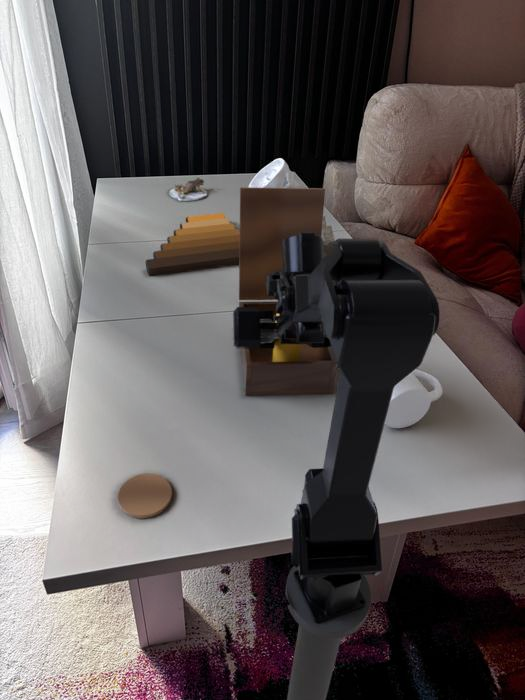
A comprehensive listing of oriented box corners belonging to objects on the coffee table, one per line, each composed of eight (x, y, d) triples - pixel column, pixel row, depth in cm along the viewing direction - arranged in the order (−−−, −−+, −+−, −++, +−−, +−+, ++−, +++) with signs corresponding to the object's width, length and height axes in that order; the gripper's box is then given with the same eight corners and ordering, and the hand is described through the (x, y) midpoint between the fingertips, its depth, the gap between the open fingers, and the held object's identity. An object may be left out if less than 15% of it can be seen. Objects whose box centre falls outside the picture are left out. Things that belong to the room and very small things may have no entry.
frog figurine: (193, 184, 172) (193, 172, 169) (216, 196, 164) (215, 183, 162) (161, 191, 166) (160, 178, 163) (183, 203, 158) (182, 190, 156)
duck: (300, 377, 94) (307, 314, 87) (273, 378, 93) (277, 315, 86) (295, 356, 99) (301, 295, 92) (269, 356, 98) (273, 295, 91)
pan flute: (149, 277, 122) (255, 262, 130) (148, 263, 120) (255, 249, 128) (128, 232, 140) (222, 222, 148) (127, 219, 138) (222, 210, 146)
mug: (379, 432, 85) (388, 392, 80) (353, 392, 93) (360, 353, 88) (447, 420, 88) (460, 381, 83) (416, 382, 96) (426, 344, 91)
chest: (332, 393, 92) (337, 363, 88) (245, 395, 90) (246, 365, 87) (312, 328, 108) (316, 300, 104) (238, 329, 106) (238, 301, 103)
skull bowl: (310, 197, 163) (291, 162, 155) (269, 223, 165) (249, 190, 157) (300, 185, 171) (282, 151, 163) (262, 210, 173) (242, 177, 165)
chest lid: (325, 189, 95) (320, 184, 99) (240, 188, 93) (238, 183, 97) (316, 299, 104) (312, 291, 108) (239, 300, 102) (237, 292, 106)
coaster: (177, 510, 71) (177, 507, 71) (122, 524, 69) (122, 521, 69) (165, 471, 77) (165, 468, 76) (114, 483, 74) (114, 480, 74)
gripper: (363, 261, 80) (337, 290, 96) (234, 262, 78) (230, 291, 94) (368, 337, 78) (341, 354, 94) (236, 339, 76) (231, 356, 92)
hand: (286, 337), depth 93 cm, fingers closed on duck, 4 cm apart
